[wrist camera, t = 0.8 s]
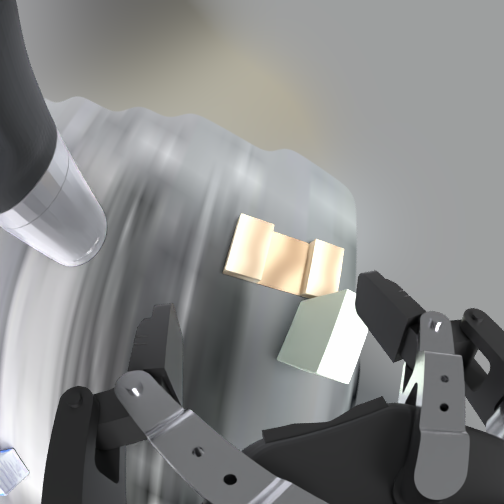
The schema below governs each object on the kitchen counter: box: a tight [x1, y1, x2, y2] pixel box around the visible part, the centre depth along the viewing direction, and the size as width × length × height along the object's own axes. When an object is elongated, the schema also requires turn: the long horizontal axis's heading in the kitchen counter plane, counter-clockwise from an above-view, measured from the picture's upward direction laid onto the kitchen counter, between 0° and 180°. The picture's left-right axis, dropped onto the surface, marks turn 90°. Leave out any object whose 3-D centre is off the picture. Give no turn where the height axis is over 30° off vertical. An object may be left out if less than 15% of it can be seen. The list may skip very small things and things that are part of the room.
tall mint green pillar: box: [276, 289, 368, 384], centre depth 29 cm, size 4×8×11 cm, turn 155°
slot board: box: [223, 214, 344, 299], centre depth 34 cm, size 14×7×2 cm, turn 75°
